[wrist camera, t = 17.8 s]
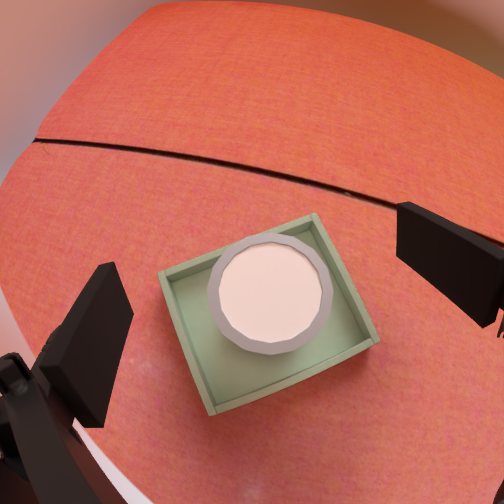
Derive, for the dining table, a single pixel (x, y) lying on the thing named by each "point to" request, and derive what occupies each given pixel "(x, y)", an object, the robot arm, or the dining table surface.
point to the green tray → (252, 363)
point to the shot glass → (270, 293)
